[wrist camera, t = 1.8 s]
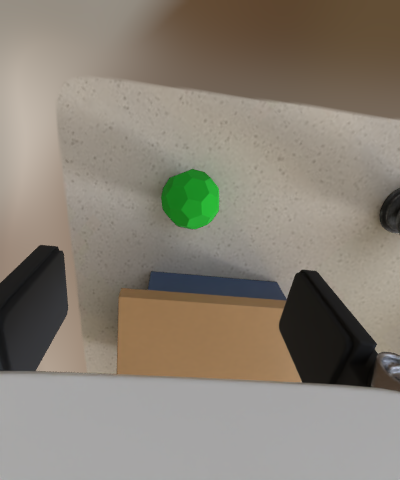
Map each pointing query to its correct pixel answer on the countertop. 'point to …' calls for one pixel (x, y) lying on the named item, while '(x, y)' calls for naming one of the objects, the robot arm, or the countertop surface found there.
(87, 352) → the countertop surface
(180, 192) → the polyhedron
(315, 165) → the countertop surface
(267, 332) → the board box
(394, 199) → the grey stone figurine
